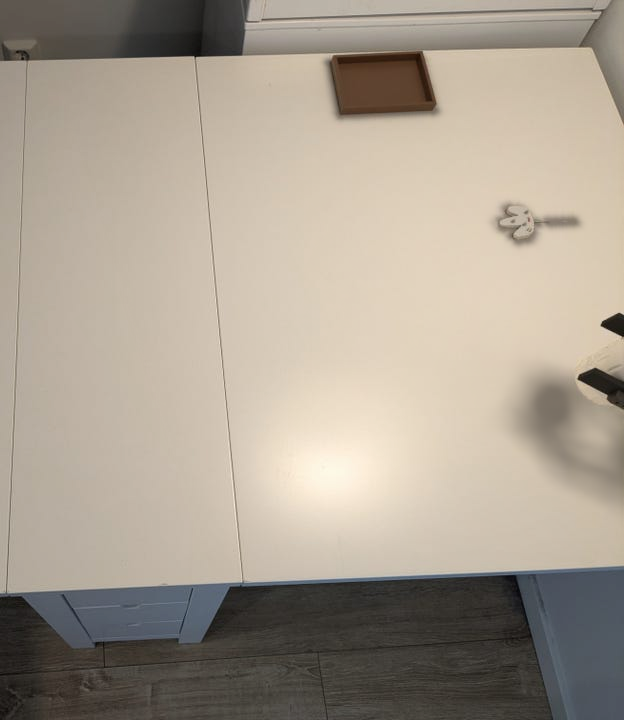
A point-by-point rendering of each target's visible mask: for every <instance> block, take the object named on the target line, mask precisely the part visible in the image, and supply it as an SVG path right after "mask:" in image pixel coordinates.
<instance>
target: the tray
mask: <svg viewBox="0 0 624 720" xmlns="http://www.w3.org/2000/svg"><path fill="white" fill-rule="evenodd" d="M424 54H425V53H424V51H423V50H411V51H409V50H407V51H390V52H369V53H348V54H333V55H332V57H331V60H330V67H331V72H332V78H333V82H334V87H335V93H336V99H337V103H338V108H339V112H340V115H341V116H349V115H366V114H367V115H368V114H389V113H390V114H391V113H409V112H410V113H413V112H431V111H434V109H435V108H436V106H437V104H438V103H437V100H436V95H435V91H434V88H433V84H432V81H431V76H430V73H429V70H428V69H429V68H428V66H427V62H426V57H425V55H424Z"/></svg>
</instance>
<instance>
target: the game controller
mask: <svg viewBox="0 0 624 720" xmlns="http://www.w3.org/2000/svg"><path fill="white" fill-rule="evenodd" d="M505 213H506V214H507V216H510V217H505V218H503V219H501V220H499V222H498V225H499V226H500V227H501V228H506V229H516V230H515V231H514V232H513V234H512V238H513V239H514V240H524V239H527V238H529V237H530V236H531V235H532V234H533V232H534V230H535V223H538V222H548V223H550V220H548V219H539V220H536V221H534V218H533V215H532V213H531V211H530V210H529V209H528V208H527V207H525V206H523V205H510V206H508V208H507V209H506V212H505ZM562 222H563V223H568V220H563V221H562Z"/></svg>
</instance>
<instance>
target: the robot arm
mask: <svg viewBox="0 0 624 720" xmlns="http://www.w3.org/2000/svg"><path fill="white" fill-rule="evenodd" d="M599 327H601V328H603V329H605V330H607V331H609V332H612V333H614V334H616V335H617V336H620V338H622V337H624V314H623V313H621V312H617V313H615V314H613V315H611V316H609V317H607V318H606V319H604V320H602V321H601V323H600V325H599ZM577 380H579V381H581V382H583V383H585V384H587V385H589V386H591V387H592V388H594V389H596V390H598V391H600V392H602V393H604V394H606V395H608V396H607V400H608V401H609V402H610V403H611V404H613V405H615V406H614V407H617V408H619V409H621V410H623V411H624V382H623V381H621V380H619V379H617V378H615V377H613V376H611V375H609V374H607V373H606V372H604V371H602V370H600V369H598V368H596V367H595V368H593V369H591V370H588V371H586V372H584V373H581V374H579V376H578V378H577Z"/></svg>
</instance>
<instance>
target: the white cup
mask: <svg viewBox="0 0 624 720" xmlns="http://www.w3.org/2000/svg"><path fill="white" fill-rule="evenodd" d="M595 367H596V368H598V369H600V370H602V371H604V372H606V373H607V374H609V375H611V376H613V377H615V378H617V379H619V380H621V381H623V382H624V337H619V338H618V339H616V340H615V341H613V342H610V343H609V344H607V345H606V346H603V347H602V348H600V349H598V350H597V351H596V352H595V353H593V354H590V355H589V356H587V357H585V358H583V359H581V360H580V362H579V363H578V364H577V366H576V367H575V369H574V381H575V384H576V386H577V388H578V391H579V392H580V393H581V394H583V396H584V397H585V398H586V399H587V400H588V401H590V402H592V403H595V404H597V405H600V406H606V407H616V406H615V405H613V404H611V403H610V402H609V401H608V400H607V396H608V395H606V394H604V393H602V392H600V391H598V390H596V389H594V388H592V387H591V386H589V385H587V384H585V383H583V382H581V381H579V380H577V378H578V376H579V374H581V373H584V372H586V371H588V370H591V369H593V368H595Z"/></svg>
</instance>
